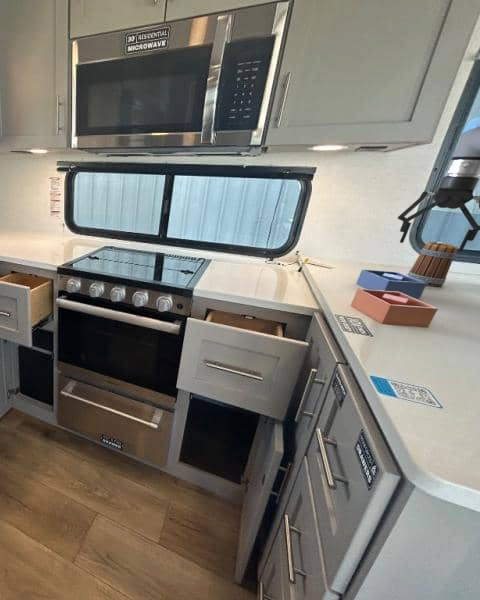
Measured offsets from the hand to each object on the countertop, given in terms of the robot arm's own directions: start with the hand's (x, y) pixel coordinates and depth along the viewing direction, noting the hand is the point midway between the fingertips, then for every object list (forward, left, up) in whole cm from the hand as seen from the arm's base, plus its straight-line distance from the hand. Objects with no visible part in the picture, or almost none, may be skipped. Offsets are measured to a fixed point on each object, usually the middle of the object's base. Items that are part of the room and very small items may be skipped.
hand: (429, 246), depth 106 cm
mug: (+19, -23, -17) cm, 34 cm away
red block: (-21, +22, -16) cm, 34 cm away
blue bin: (+3, +4, -17) cm, 18 cm away
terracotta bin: (-21, +22, -17) cm, 35 cm away
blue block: (+3, +4, -16) cm, 17 cm away
